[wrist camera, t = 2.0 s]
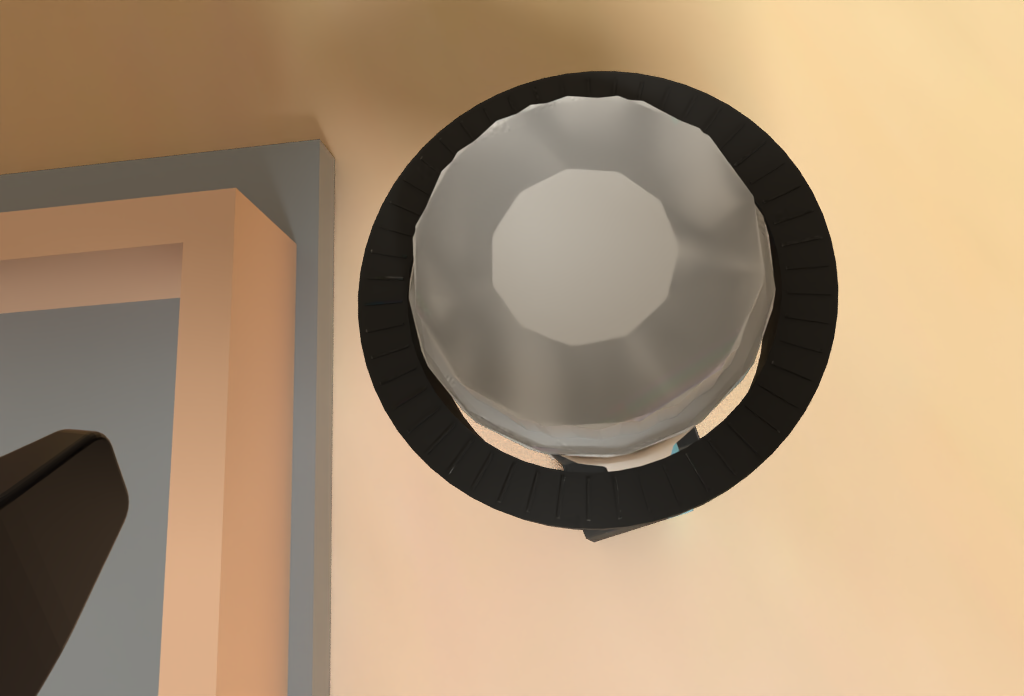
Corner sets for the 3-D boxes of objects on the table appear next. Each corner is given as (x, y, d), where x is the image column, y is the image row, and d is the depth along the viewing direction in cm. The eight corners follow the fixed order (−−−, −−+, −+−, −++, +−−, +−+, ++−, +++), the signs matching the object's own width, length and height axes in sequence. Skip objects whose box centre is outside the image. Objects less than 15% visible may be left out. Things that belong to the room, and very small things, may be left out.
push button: (444, 286, 20) (254, 20, 10) (671, 210, 19) (700, -143, 10) (531, 579, 18) (400, 596, 8) (783, 500, 17) (954, 421, 8)
